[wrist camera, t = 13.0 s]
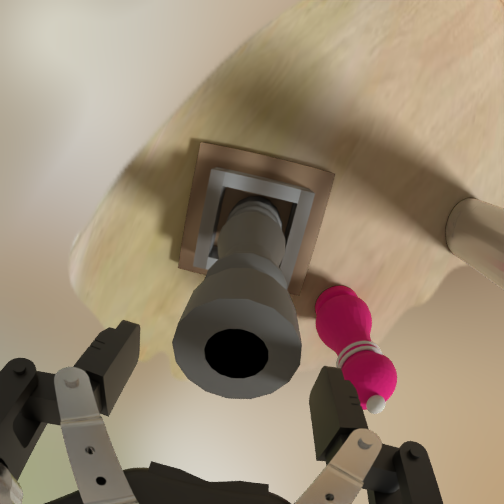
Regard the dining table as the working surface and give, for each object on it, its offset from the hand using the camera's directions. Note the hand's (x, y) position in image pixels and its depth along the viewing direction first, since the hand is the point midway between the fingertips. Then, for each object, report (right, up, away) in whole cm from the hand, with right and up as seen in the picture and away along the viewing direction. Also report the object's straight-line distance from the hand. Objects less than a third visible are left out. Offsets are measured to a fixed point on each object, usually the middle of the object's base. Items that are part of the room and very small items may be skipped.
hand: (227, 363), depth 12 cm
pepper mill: (+13, -3, +29) cm, 32 cm away
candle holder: (+1, +8, +24) cm, 26 cm away
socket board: (+1, +9, +26) cm, 27 cm away
